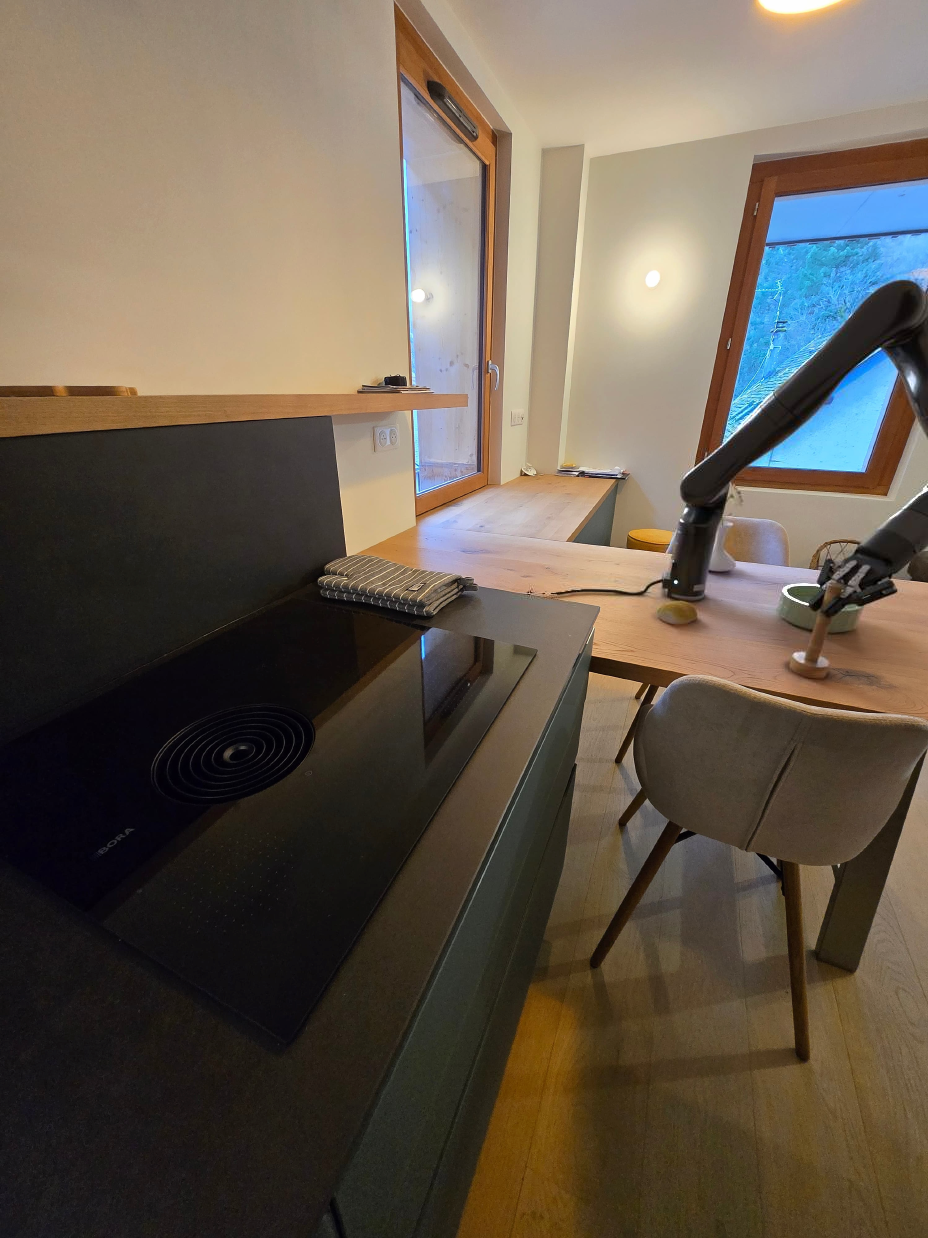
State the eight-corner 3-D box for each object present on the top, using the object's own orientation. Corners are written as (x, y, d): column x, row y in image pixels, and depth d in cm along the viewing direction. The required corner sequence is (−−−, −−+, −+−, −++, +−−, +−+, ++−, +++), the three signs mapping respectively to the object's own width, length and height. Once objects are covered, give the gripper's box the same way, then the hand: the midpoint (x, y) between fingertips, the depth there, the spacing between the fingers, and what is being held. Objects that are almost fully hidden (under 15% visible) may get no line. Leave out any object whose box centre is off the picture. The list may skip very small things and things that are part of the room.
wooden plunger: (793, 675, 94) (821, 589, 87) (786, 660, 100) (811, 577, 92) (830, 680, 93) (862, 592, 85) (820, 664, 98) (849, 580, 90)
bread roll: (702, 619, 117) (705, 603, 116) (679, 628, 113) (682, 613, 111) (672, 607, 124) (675, 592, 122) (649, 616, 119) (651, 600, 118)
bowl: (785, 630, 112) (792, 605, 109) (769, 603, 125) (775, 581, 122) (866, 639, 107) (876, 614, 105) (841, 610, 120) (849, 587, 118)
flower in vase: (737, 576, 142) (758, 488, 131) (694, 572, 146) (711, 486, 135) (731, 562, 153) (750, 480, 142) (692, 558, 157) (707, 478, 146)
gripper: (853, 518, 92) (779, 586, 95) (931, 539, 79) (843, 615, 82) (867, 544, 95) (795, 608, 98) (944, 567, 83) (859, 640, 86)
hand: (818, 611), depth 90 cm, fingers closed on wooden plunger
